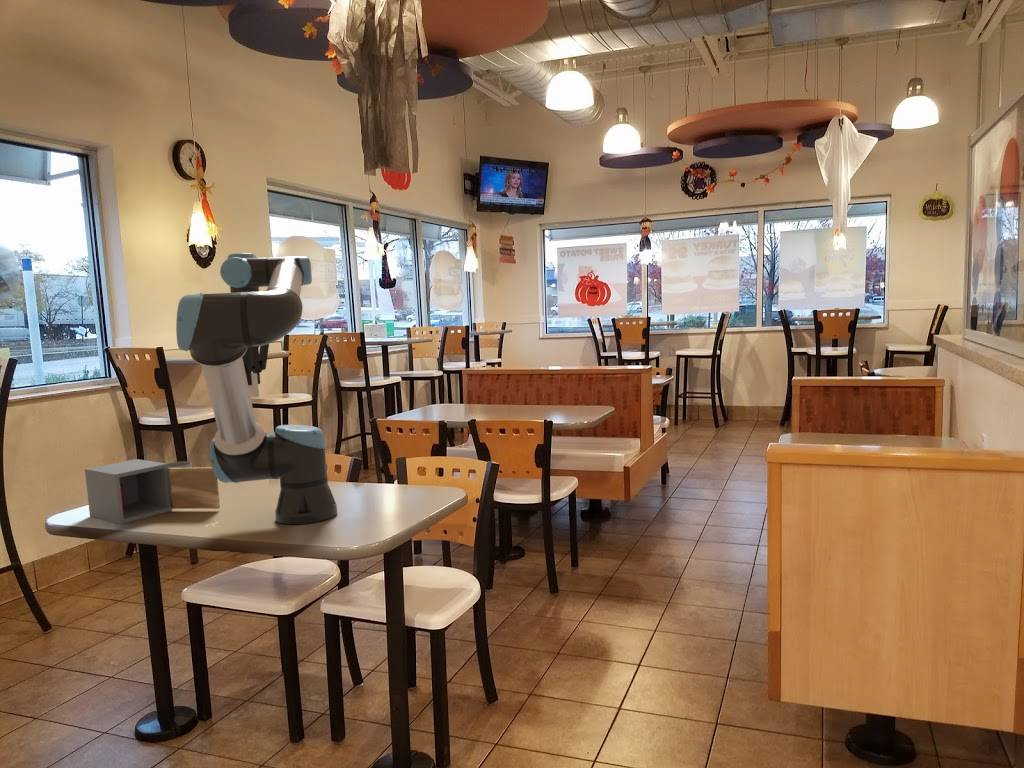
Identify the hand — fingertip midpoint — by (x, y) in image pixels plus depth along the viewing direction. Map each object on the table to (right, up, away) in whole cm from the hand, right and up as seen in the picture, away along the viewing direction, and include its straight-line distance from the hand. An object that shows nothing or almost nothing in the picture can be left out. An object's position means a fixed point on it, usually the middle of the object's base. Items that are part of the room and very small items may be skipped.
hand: (253, 396), depth 202 cm
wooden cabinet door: (-14, -30, -4) cm, 33 cm away
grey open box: (-32, -32, -4) cm, 45 cm away
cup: (-26, -30, +11) cm, 41 cm away
